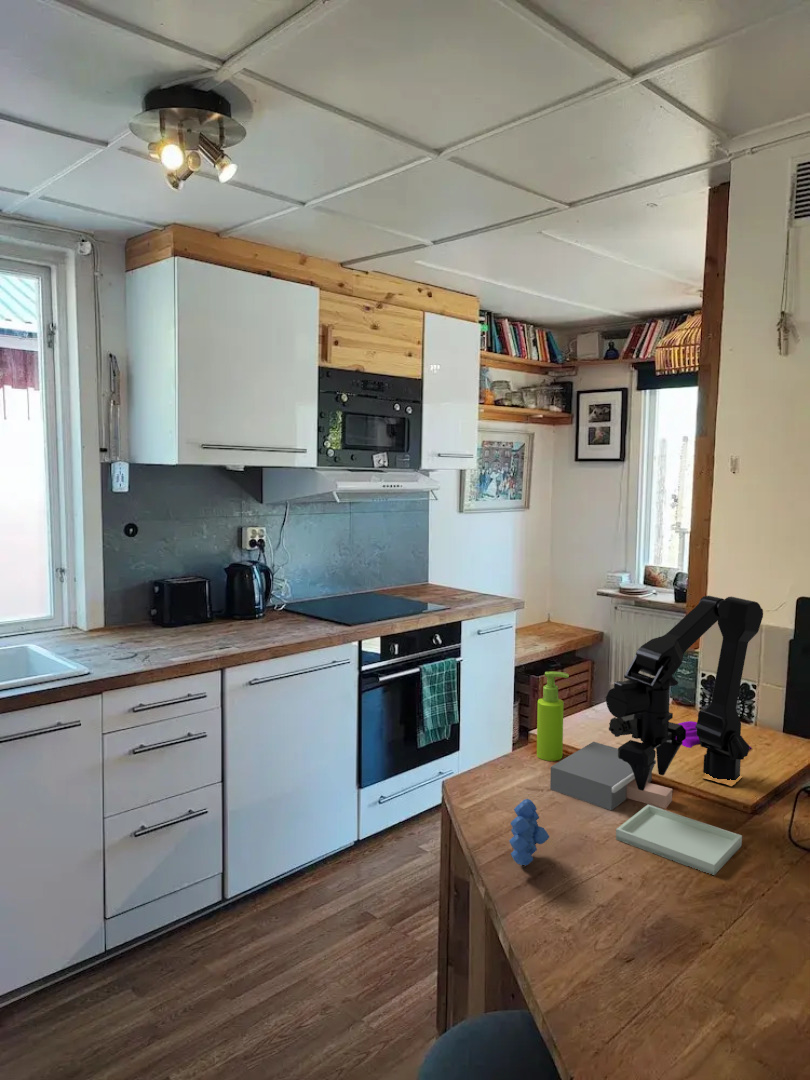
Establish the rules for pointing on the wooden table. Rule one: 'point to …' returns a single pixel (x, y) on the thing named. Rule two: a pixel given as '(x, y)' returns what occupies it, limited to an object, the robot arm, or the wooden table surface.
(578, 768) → the block
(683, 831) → the tray
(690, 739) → the cloth
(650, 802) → the pink bar in dish
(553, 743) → the soap dispenser
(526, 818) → the grapes
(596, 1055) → the wooden table surface
